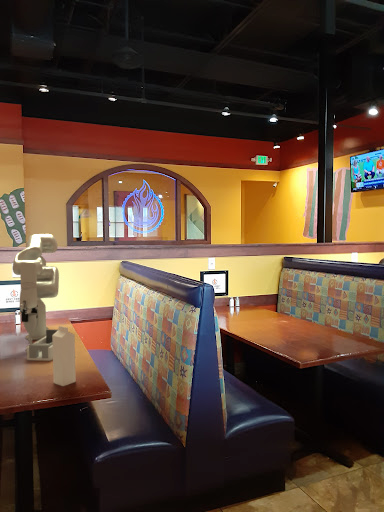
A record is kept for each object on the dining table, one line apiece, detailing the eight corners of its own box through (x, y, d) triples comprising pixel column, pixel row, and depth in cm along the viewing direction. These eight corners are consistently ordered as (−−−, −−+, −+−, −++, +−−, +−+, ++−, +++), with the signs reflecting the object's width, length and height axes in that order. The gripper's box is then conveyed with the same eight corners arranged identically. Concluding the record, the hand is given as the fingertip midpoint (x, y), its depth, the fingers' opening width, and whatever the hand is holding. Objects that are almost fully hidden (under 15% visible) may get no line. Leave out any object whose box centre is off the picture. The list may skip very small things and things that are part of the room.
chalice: (41, 348, 208) (40, 313, 207) (32, 352, 201) (31, 316, 200) (29, 347, 210) (28, 312, 209) (20, 350, 204) (18, 315, 203)
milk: (66, 378, 164) (65, 324, 163) (75, 382, 161) (74, 326, 159) (53, 383, 159) (51, 327, 158) (62, 386, 156) (61, 329, 155)
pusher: (47, 346, 207) (47, 329, 207) (63, 346, 206) (63, 329, 206) (31, 356, 190) (31, 338, 190) (49, 356, 189) (48, 338, 189)
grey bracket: (46, 347, 210) (46, 333, 209) (68, 347, 209) (68, 334, 208) (26, 360, 189) (26, 345, 188) (50, 360, 188) (50, 345, 187)
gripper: (29, 284, 213) (30, 316, 213) (12, 287, 195) (13, 323, 196) (43, 284, 212) (44, 317, 213) (27, 287, 195) (28, 323, 195)
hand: (29, 320), depth 204 cm, fingers open, 9 cm apart
